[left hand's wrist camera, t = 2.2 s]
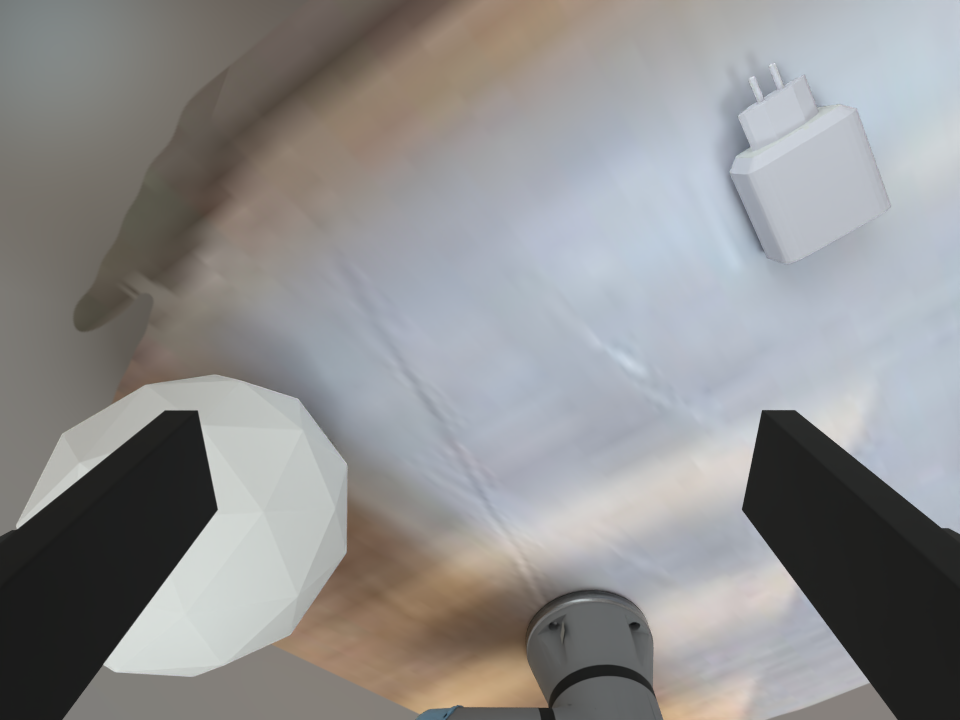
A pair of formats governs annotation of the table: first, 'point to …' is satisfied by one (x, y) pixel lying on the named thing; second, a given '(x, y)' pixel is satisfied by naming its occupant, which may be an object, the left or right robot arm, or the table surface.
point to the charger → (804, 171)
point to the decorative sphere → (225, 521)
